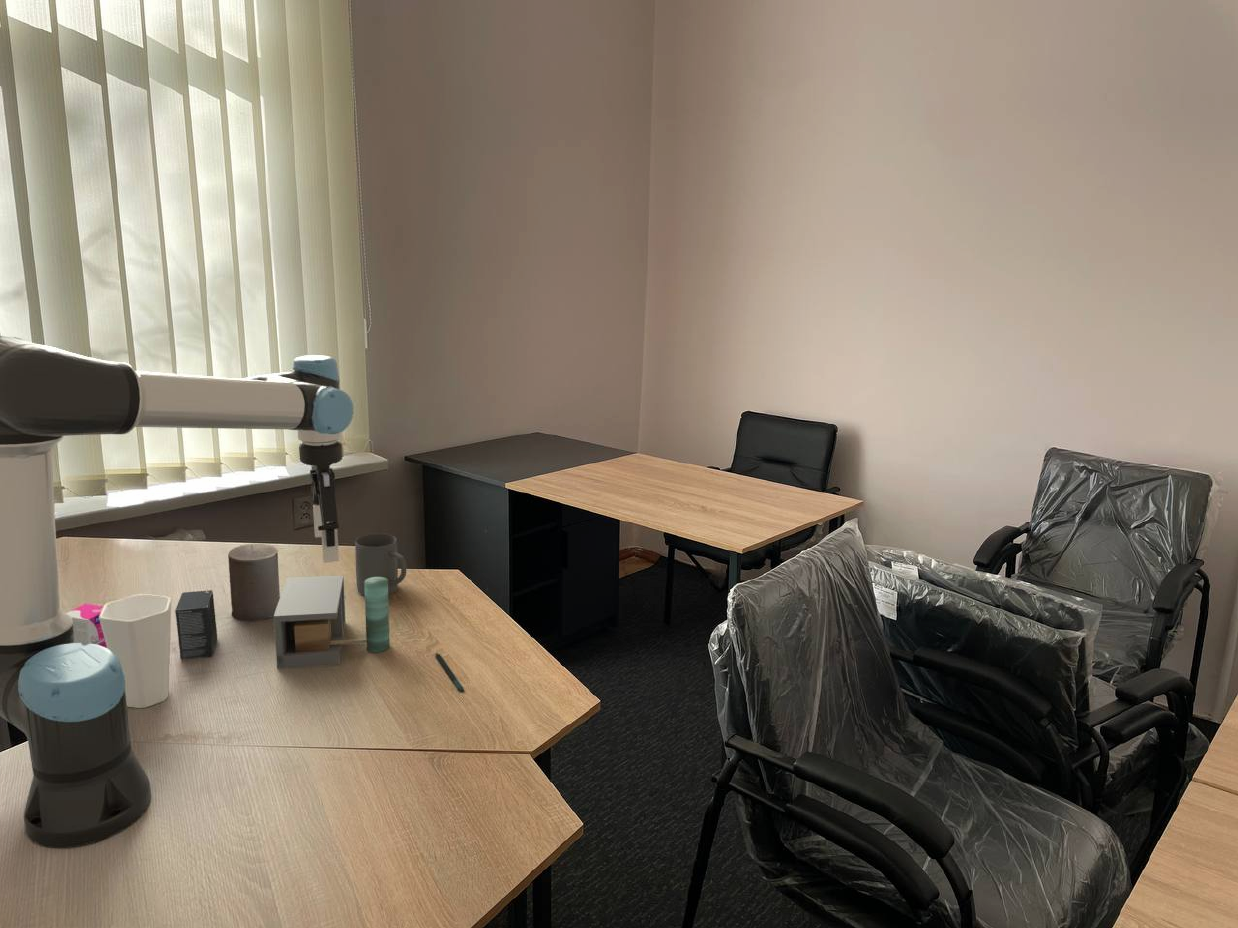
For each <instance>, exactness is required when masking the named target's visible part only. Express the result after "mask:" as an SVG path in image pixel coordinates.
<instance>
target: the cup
mask: <svg viewBox="0 0 1238 928" xmlns="http://www.w3.org/2000/svg"><path fill="white" fill-rule="evenodd" d="M99 620H100V623H101V627H102V631H103V634H104V638H105V642H106V645H107V649H109V650H111V651H112V652H113V653H114V654H115V655H116V656H117V657H118V659H119V661H120V664H121V668H122V672H123V674H124V677H125V694H126V703H127V708H129V707H130V708H136V709H144V708H148V707H151V706H153V705H157V704H159V703H163V702H164V701H165V700H167V698H168V694H169V691H170V690H169V689H170V666H171V663H170V662H171V660H170V659H171V658H170V657H171V655H170V654H171V627H172V626H171V623H172V598H171V597H169V596H165V595H158V594H157V595H156V594H149V593H140V594H139V593H138V594H135V595H130V596H126V597H123V598H120V599H119V598H118V599H117V600H112V601H110V602H106V603H105V604H104V605H103V609H102V611H101V613H100V616H99Z"/></svg>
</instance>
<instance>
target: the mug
mask: <svg viewBox="0 0 1238 928" xmlns="http://www.w3.org/2000/svg"><path fill="white" fill-rule="evenodd" d="M397 541H398V540H397V538H396V537H395V536H394V535H392V534H387V533H380V532H379V533H378V532H377V533H369V534H365V535H361V536H359V537H358V538H356V539H355V545H354V547H355V548H354V550H355V551H354V552H355V553H354V555H355V557H354V558H355V579H356V590H357V593H359V594H360V595H361V596H364V597H365V586H364V581H365V580H366V579H368V578H372V577H384V578H386V579H387V580H388V596H389V595H391V594H394V593H395V592H396V591H397V590H398V586H399V584H400V583H401V582H403V581H404V579H405V578H406V576H407V561H406V559H405V557H404V556H403V555H402V554H400V553H398V542H397ZM398 560H399V562H400V575H399V571H398V568H399V567H398Z"/></svg>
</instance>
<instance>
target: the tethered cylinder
mask: <svg viewBox="0 0 1238 928" xmlns="http://www.w3.org/2000/svg"><path fill="white" fill-rule="evenodd" d="M364 586H365V596H364V610H365V636H366V638H353V639H351V638H350V639H343V640H334V641H331V639H332V637H331V619H322V620H304V621H295V625H294V632H295V649H296V653H302V652H317V651H329V649H330V645H341V644H342V645H353V644H354V645H356V644H366V650H367V651H369V652H372V653H381V652H385V651H387V650H388V649H390V645H391V644H390V642H391V641H390V640H391V639H390V612H389V611H390V609H389V607H390V603H389V595H388V580H387V579H386V578H384V577H372V578H368V579H366V580H365V581H364Z"/></svg>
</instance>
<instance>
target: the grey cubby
mask: <svg viewBox="0 0 1238 928" xmlns="http://www.w3.org/2000/svg"><path fill="white" fill-rule="evenodd" d="M344 579H345V578H344V575H343V574H342V575H341V574H340V575H337V574H336V575H321V576H320V575H319V576H318V575H317V576H297V577H293V576H292V577H286V579H285V581H284V585H283V588H282V591H281V593H280V599H279V602H278V605H277V608H276V611H275V614H274V616H273V624H274V627H273V628H274V639H275V640H274V642H275V652H276V654H275V657H276V669H291V668H292V669H293V668H295V669H296V668H305V667H306V668H308V667H321V666H324V667H325V666H335V665H336V666H337V665H340V659H341V654H342V647H343V644H341V645H330V649H329V651H317V652H302V653H296V649H295V632H294V625H295V621H304V620H322V619H331V637H332V639H331V641H334V640H344V634H345V630H346V629H345V627H346V605H345V603H346V602H345V583H344V582H345V580H344Z"/></svg>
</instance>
